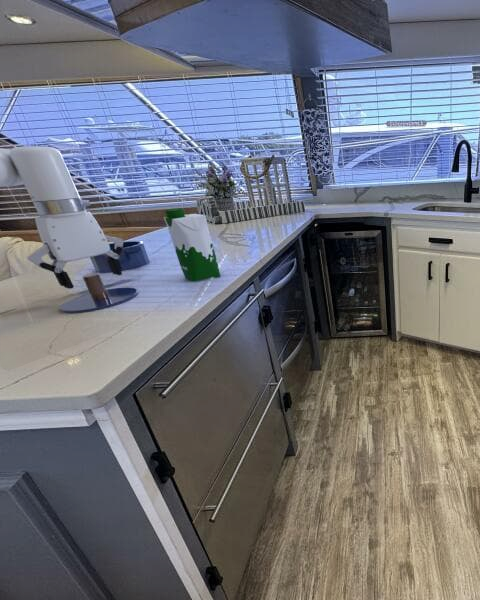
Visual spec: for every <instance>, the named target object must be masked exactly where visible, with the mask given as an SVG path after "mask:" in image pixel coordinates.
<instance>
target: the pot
mask: <svg viewBox="0 0 480 600" xmlns="http://www.w3.org/2000/svg"><path fill="white" fill-rule="evenodd" d="M108 244H109V246H110V251H112V250H113V248H114V247H115V243H114V242H111V243H108ZM122 249H123V250H122V252H121V254H120V255H119V259H118V261H119V263H120V265H121V268H122V270H121V272H124V271H129V270H134V269H137V268H142V267H144V266H147V265H148V264H150V262H151V261H150V259H149V256H148V253H147V250H146V247H145V245H144V243H143V241H141V240H127V241H124V242H123V247H122ZM89 259H90V261H91V263H92V266H93V268H94V270H95V272H96V273H98V274H109V273H112V271H111V269H110V266H109V264H108V262H107V259H108V257H107V256H105V255H103V254H102V255H97V256H93V257H89Z"/></svg>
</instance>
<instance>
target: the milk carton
mask: <svg viewBox="0 0 480 600" xmlns="http://www.w3.org/2000/svg"><path fill="white" fill-rule="evenodd" d="M164 213H165V215H166V217H165V216H164V217H163V219H164V222H165V225H166V227H167V230H168V233H169V235H170V238H171V242H172V245H173V248H174V251H175V254H176V257H177V260H178V262H179V263H178V264H179V266H180V269H181V270H182V271H181V272H182V274H183V276H184V278H185V279H187V280H189V281H191V282H193V283H197V282H199V281H203V280H207V279H211V278H215V279H217V278H220V277H221V271H220V268H219V264H218V260H217V255H216V252H215V248H214V244H213V241H212V237H211V234H210V230H209V225H208V222H207V221H208V220H207V217H206V215H205V214H198V213H190V214H189V213H188V214H185V212H184V209H183V208H169V209H165V210H164Z"/></svg>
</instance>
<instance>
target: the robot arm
mask: <svg viewBox="0 0 480 600" xmlns="http://www.w3.org/2000/svg"><path fill="white" fill-rule="evenodd" d="M21 185H23V186H24V187H25V189H26V191H27V193H28V195H29V198H30V199H31V201H32V204H33V205H34V207H35V210H36V211H37V213H38V215H39V216H36V217H35V220H34V221H35V224H36V228H37V231H38V235H39V237H40V240H41V243H42V246H41V247H39V248H38V249H36V250H35V251H33V252H32V253H30V254H29V255H27V256H26V259H27V260H28V261H30V262H31V263H33V264H34V265H35V266H37V267H38V268H41V269H43V270H47V271H49V272H51V273H53V274H54V276H55V278H56V280H57V282H58V284H59V285H60V286H61V287H64V288H65V289H69V290H70V289H71V290H72V289H74V288H75V287H74V284H73V282H72V279H71V278H70V276H69V274H68V272H67V271H64V269H65V266H66V264H67V263H70V262H74V261H79V260H83V259H84V260H85V259H88V258H90V257H93V256H97V255H102V254H103V255H105V256H107V257H108V259H107V262H108V264H109V266H110V269H111V271H112V272H111V273H112V274H113V275H116V276H121V275H123V271H121V270H122V268H121V265H120V263H119V261H118V259H119V255H120V254H121V252H122V250H123V249H122V247H123V242H125V240H124V239H123V238H121V237H116V236H111V235H106V234H105V233H104V232H103V230H102V227H101V226H100V225H99V223H98V221H97V220H96V218H95V216H94V215H93V214H92V213H91V212H90V211H87V207H91V206H92V204H91V201H90V200H89V199H83V198H82V197H81V196H80V194H79V192H78V191H79V190H77V187H76V184H75V183H74V180H73V178H72V176H71V173H70V170H69V169H68V167H67V164H66V161H65V160H64V156H63V155H62V153H61V152H60V151H59V149H57V148H55V147H51V146H44V145H43V146H42V145H41V146H40V145H27V146H25V145H24V146H15V147H12V148H2V147H0V188H8V187H16V186H21ZM109 242H111V243H115V247H114V248H113V250H112V251H110V246H109V244H110V243H109ZM46 255H47V256H48V257H49V259H50V260H52V262H51V264H50V263H48V262H45V261H44V260H43V259H42V258H43V256H46Z"/></svg>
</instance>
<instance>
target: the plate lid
mask: <svg viewBox="0 0 480 600" xmlns="http://www.w3.org/2000/svg"><path fill="white" fill-rule="evenodd" d="M82 280H83V282H84V284H85V286H86V288H87V290H88V293H86V294H82V295H79V296H77V297H74V298H71V299H69V300H67V301H65V302H64V303H63V304H61V305H60V306H59V308H60V310H61V312H63V313H66V314H81V313H89V312H93V311H94V312H95V311H99V310H104V309H108V308H111V307H114V306H117V305H120V304H123V303H125V302H128V301H130V300H132V299H134V298H135V297H137V295H138V294H139V291H138V289H137V288H134V287H115V288H114V287H113V288H108V289H106V287H105V285H104V282H103V281H102V278H101V276H100V273H99V272H96V273H89V274H85V275H83V276H82Z"/></svg>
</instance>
